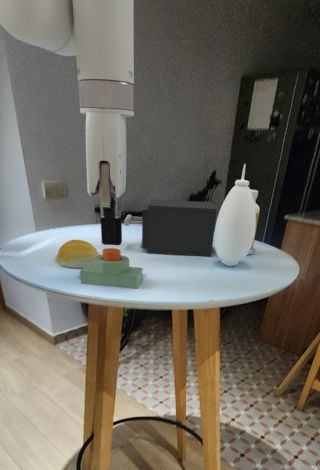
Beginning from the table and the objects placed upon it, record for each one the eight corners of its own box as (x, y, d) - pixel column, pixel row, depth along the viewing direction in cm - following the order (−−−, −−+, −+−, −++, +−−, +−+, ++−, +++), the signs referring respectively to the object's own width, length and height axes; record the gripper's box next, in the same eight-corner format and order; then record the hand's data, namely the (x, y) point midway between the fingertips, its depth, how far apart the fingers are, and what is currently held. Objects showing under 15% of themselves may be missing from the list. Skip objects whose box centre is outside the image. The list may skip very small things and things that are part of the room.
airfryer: (147, 253, 83) (148, 205, 77) (149, 243, 91) (150, 198, 85) (211, 256, 83) (216, 208, 77) (207, 246, 91) (212, 202, 85)
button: (100, 262, 62) (100, 251, 61) (105, 258, 64) (105, 247, 63) (118, 263, 62) (117, 253, 61) (122, 259, 64) (122, 248, 63)
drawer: (123, 247, 83) (122, 208, 78) (127, 238, 90) (127, 202, 85) (201, 251, 83) (205, 212, 78) (198, 242, 90) (202, 206, 85)
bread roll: (57, 269, 70) (54, 247, 67) (59, 257, 77) (57, 236, 74) (101, 269, 71) (99, 247, 69) (99, 257, 78) (98, 236, 76)
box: (80, 284, 63) (78, 260, 61) (90, 274, 68) (88, 251, 66) (136, 289, 62) (136, 265, 60) (142, 279, 67) (143, 256, 65)
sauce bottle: (204, 261, 79) (215, 161, 68) (234, 259, 82) (249, 162, 71) (223, 271, 73) (239, 164, 63) (255, 268, 76) (275, 165, 66)
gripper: (89, 104, 56) (97, 233, 67) (67, 95, 44) (81, 253, 55) (137, 107, 57) (137, 235, 67) (128, 98, 45) (130, 256, 55)
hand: (112, 243), depth 61 cm, fingers closed
